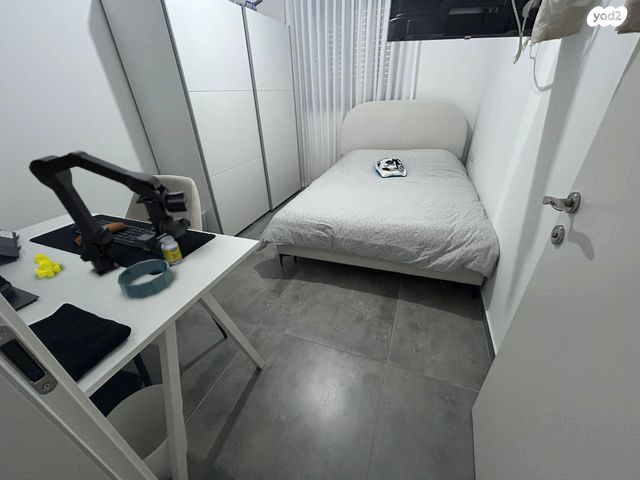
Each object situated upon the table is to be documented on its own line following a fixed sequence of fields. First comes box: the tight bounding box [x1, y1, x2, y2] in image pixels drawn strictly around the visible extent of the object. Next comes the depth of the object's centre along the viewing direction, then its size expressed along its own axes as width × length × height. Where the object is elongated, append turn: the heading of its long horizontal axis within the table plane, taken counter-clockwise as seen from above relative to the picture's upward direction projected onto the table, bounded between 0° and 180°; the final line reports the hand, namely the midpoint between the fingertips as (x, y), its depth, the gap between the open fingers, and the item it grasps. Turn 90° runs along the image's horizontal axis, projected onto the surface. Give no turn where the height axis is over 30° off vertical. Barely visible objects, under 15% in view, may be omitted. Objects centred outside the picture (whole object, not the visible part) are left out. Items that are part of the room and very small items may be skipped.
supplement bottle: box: [160, 235, 183, 266], centre depth 95 cm, size 5×5×10 cm
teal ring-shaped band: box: [117, 258, 175, 299], centre depth 85 cm, size 14×14×5 cm
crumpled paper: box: [33, 252, 62, 279], centre depth 91 cm, size 6×8×8 cm
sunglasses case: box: [74, 221, 128, 247], centre depth 115 cm, size 18×7×7 cm
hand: (171, 252), depth 96 cm, fingers open, 9 cm apart
